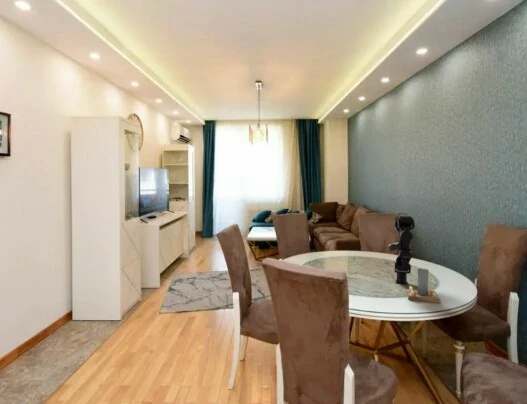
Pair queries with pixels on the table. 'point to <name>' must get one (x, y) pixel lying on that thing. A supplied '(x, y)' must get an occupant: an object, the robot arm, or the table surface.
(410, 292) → the display plinth
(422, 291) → the spectacles tube
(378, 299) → the table surface
